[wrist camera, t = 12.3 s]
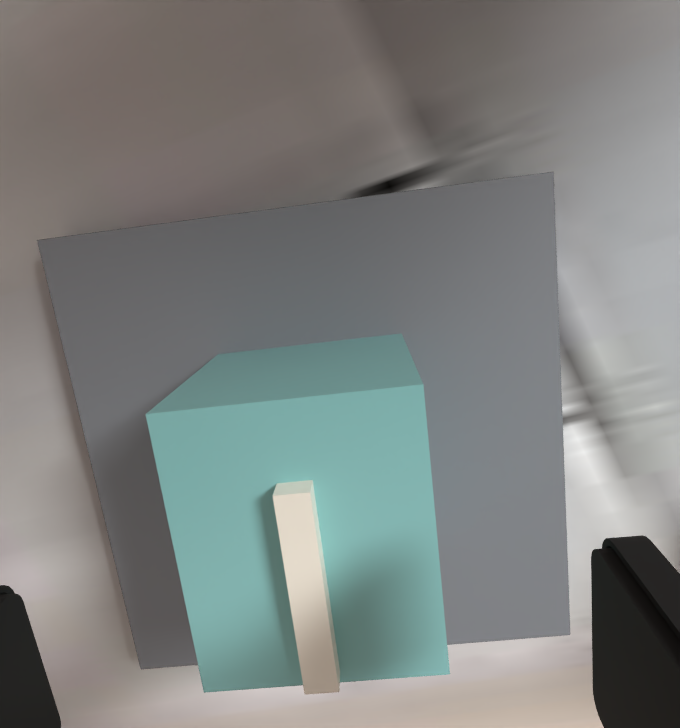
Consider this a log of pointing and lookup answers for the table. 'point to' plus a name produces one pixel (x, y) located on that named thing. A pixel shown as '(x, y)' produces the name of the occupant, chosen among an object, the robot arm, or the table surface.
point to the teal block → (304, 515)
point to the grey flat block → (333, 323)
